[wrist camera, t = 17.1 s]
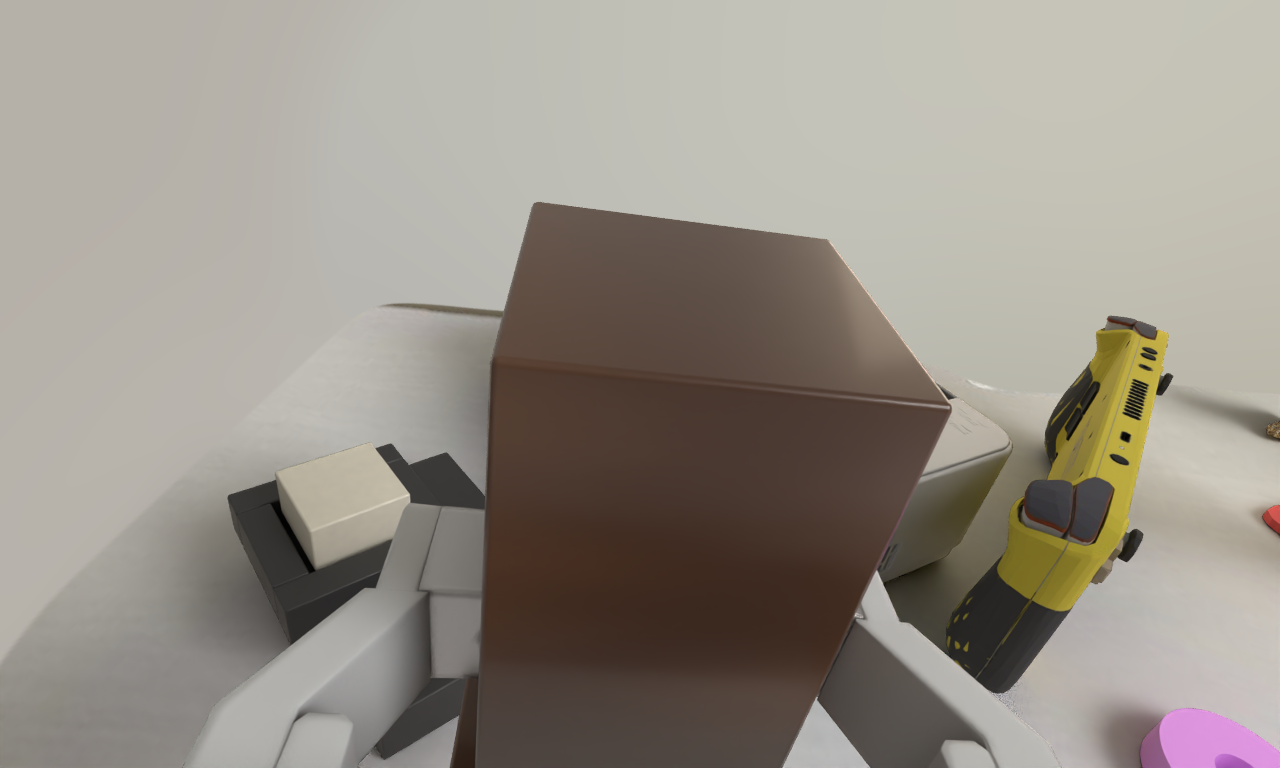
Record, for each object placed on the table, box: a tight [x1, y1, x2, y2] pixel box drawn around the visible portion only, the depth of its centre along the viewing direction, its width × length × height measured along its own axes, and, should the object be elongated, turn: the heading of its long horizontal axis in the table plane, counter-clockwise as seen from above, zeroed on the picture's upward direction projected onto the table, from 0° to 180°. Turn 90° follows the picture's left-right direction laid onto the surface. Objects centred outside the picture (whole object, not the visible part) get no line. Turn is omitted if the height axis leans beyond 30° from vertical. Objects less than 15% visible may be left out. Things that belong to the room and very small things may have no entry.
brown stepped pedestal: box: [450, 202, 952, 768], centre depth 10 cm, size 5×5×11 cm
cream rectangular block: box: [275, 443, 410, 571], centre depth 26 cm, size 4×4×2 cm
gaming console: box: [946, 316, 1173, 693], centre depth 34 cm, size 26×4×10 cm, turn 142°
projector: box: [877, 382, 1013, 583], centre depth 37 cm, size 17×22×8 cm
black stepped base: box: [228, 444, 485, 759], centre depth 27 cm, size 9×11×4 cm
